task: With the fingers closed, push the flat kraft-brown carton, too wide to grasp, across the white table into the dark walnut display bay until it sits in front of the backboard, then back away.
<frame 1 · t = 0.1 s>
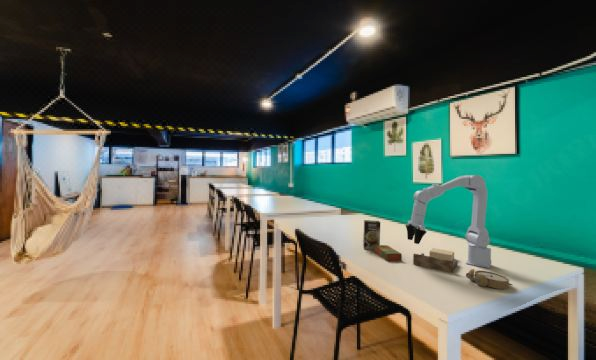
hand: (413, 241, 131), 11 cm above the table, tool pointing down, fingers open, 7 cm apart
coffee box: (371, 248, 157), on the table
display bay: (435, 264, 129), on the table
alarm clock: (486, 284, 107), on the table
small carton: (441, 259, 139), on the table
carton: (387, 257, 141), on the table
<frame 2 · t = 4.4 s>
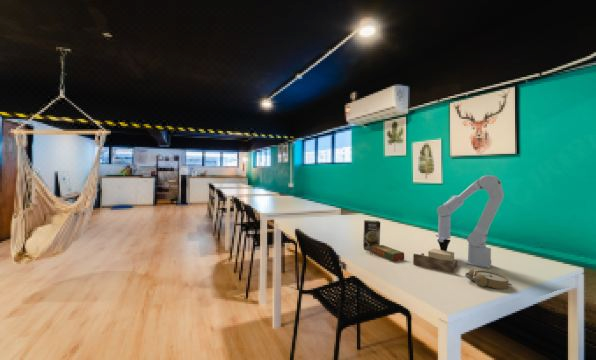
hand: (443, 253, 142), 2 cm above the table, tool pointing down, fingers closed
small carton: (441, 259, 138), on the table, touching gripper
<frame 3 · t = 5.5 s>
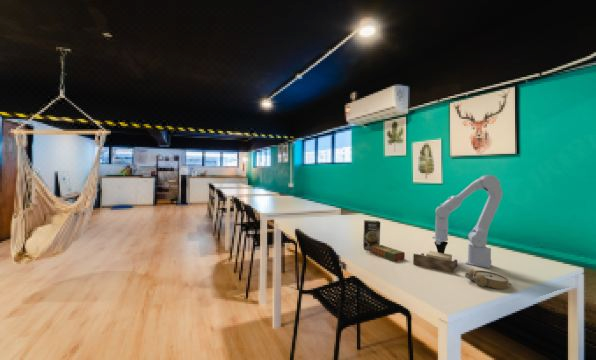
hand: (440, 255, 137), 2 cm above the table, tool pointing down, fingers closed
small carton: (438, 262, 133), on the table
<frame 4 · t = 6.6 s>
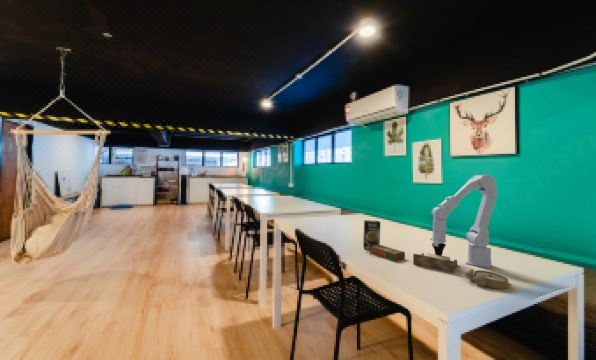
hand: (438, 257, 133), 2 cm above the table, tool pointing down, fingers closed
small carton: (436, 265, 129), resting in display bay
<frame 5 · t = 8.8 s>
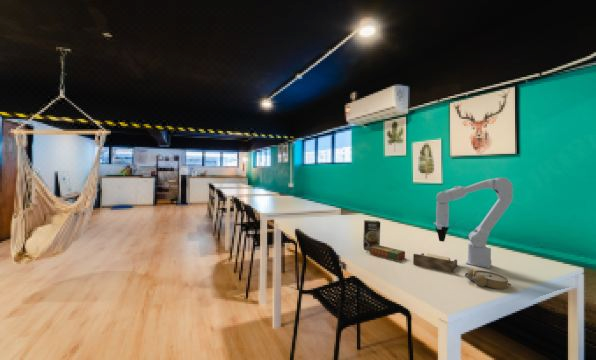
hand: (441, 241, 138), 9 cm above the table, tool pointing down, fingers closed
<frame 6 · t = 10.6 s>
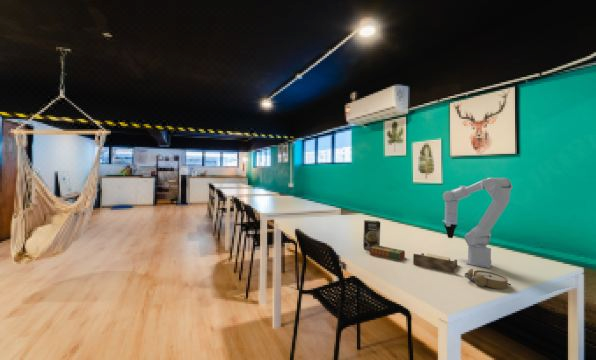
hand: (450, 237, 145), 9 cm above the table, tool pointing down, fingers closed
at the end: small carton inside the target area on the display bay (0.4 cm from its centre), point 0.0 cm above the display bay's base; small carton tilted 0°; small carton moved 13.2 cm from its start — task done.
